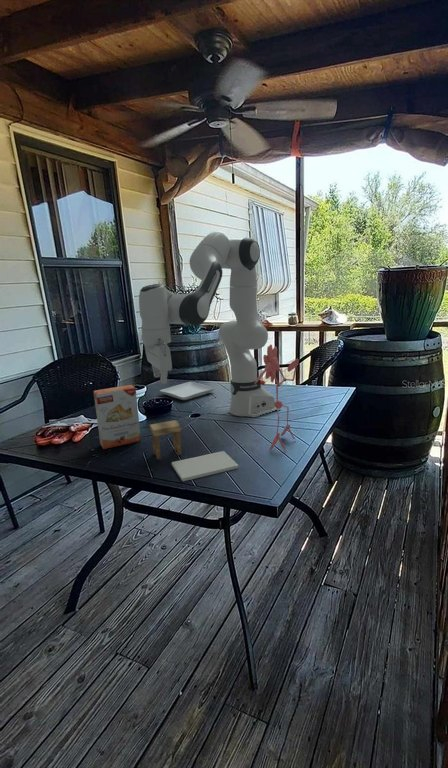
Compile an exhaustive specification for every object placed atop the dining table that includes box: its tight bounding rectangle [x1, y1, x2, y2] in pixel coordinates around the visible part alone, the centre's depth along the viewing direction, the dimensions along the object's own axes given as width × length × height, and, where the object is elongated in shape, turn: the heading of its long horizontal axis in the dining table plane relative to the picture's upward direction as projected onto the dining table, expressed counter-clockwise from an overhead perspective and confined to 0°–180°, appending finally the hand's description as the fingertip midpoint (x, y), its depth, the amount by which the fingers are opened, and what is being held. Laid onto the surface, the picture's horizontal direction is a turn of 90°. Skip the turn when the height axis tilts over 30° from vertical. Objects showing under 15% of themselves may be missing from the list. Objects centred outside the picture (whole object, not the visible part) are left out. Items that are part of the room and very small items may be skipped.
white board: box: [171, 450, 239, 482], centre depth 127 cm, size 18×12×1 cm, turn 112°
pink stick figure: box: [250, 344, 300, 451], centre depth 137 cm, size 15×26×35 cm, turn 150°
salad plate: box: [159, 381, 216, 401], centre depth 207 cm, size 21×21×3 cm
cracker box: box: [93, 384, 141, 450], centre depth 146 cm, size 14×6×21 cm, turn 117°
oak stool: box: [149, 419, 183, 460], centre depth 136 cm, size 9×6×10 cm, turn 112°
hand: (160, 379), depth 131 cm, fingers open, 8 cm apart
